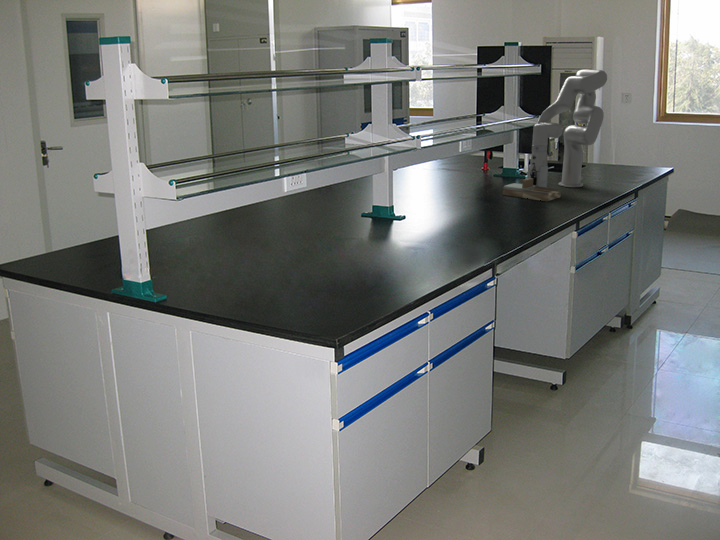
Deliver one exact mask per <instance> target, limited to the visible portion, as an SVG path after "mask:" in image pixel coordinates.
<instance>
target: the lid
mask: <svg viewBox="0 0 720 540" xmlns="http://www.w3.org/2000/svg"><path fill="white" fill-rule="evenodd" d="M505 186H506V187H513V188H519V189H526V190H530V189H534V188H535V186H533V178H529V179H527V178H525V179H522V183H518V184H516V183H515V182H514V183H509V184H506V185H503V188H504V187H505Z"/></svg>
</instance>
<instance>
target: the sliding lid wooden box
mask: <svg viewBox="0 0 720 540" xmlns="http://www.w3.org/2000/svg"><path fill="white" fill-rule="evenodd" d="M516 184H519V183H516ZM504 186H505V185H504ZM504 186H503V188H502V190H503V191H502V195H503V196H508V197H515V198H520V199H521V198H522V199H527V198H528V200H533V201H540V200H541V201H540V202H550V201H553V200H557V199H559V198H561V194H562V191H561V189H560V188H555V187H554V188H552V187H548V186H547V187H540V186H535V188H534V189H530V190H526V189H519V188H513V187H506V186H505V187H504Z"/></svg>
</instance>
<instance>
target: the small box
mask: <svg viewBox="0 0 720 540" xmlns="http://www.w3.org/2000/svg"><path fill="white" fill-rule="evenodd" d="M529 169H530V164H528V167H527V178H526V179H529V178H531V177H530V172H529ZM533 171H536V170H533ZM548 173H549V166H548V165H547V166H542V167H540V170H539V172H537V175H536V177H537V182H536V185H533V186H540V187H547V188H548V176H549V175H548ZM534 174H535V172H534Z"/></svg>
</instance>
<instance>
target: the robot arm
mask: <svg viewBox="0 0 720 540" xmlns="http://www.w3.org/2000/svg"><path fill="white" fill-rule="evenodd" d="M607 81H608V75H607V73H606V71H605V70H602V69H591V68H590V69H586V68H585V69H579V70H578V71H577V72H576V73H575V75H571V76H568V77H567V78H566V79H565V80H564V82H563V84H562V87H561V89H560V91H559V92H558V95H557V97H556V99H555V101H554V102H553V103H552V104H550V105H549V106H548V107H546V109H545V110H543V111H542V113H541V115H540V116H539V118H538V119H537V122H536V123H534V125H533V129H532V131H533V132H532V143H531V156H530V164H529V165H530V169H529V172H530V177H531V178H533V185H536V182H537V177H536V175H537V172H539V170H540V167H542V166H548V144H549V143H548V142H549V139H550V138H551V139H557V138H558V139H559V138H560V137H561V136H562V135H563V142H564V149H563V163H562V173H561V181H559V182H558V183H557V184H558V186H561V187H566V188H581V187H583V186H584V183H583V182H581V181H582V180H583V179H584V177H583V176H582V165H583V155H584V152H583V150H584V149H583V148H582V146H592V145H594V144H595V143H596V141H597V139H598V136H599V133H600V130H601V127H602V124H603V121H604V110H603V108H602V107H600V106H596V105H595V102H596V98H597V94H596V90H599V89H601V88H602V87H604V86H605V85H606V83H607ZM577 96H578V99H577V101H576V105H575V108H574V109H573V110H574V111H573V115H572V120H573V122H575V123H578V124H580V125H578V124H570V125H568V126H567V127H565V128H564V127H563V126H562V125H561V124H560V123H558V122H552V121H551V120H552V119H553V118H555V117H556V116H557V115H559V114H562V113H565V112H567V111H569V110H571V108H572V107H573V104H574V103H575V100H576V98H577ZM581 124H584V125H581ZM585 125H586V126H585ZM533 170H536V171H533ZM534 172H535V174H534Z"/></svg>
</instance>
